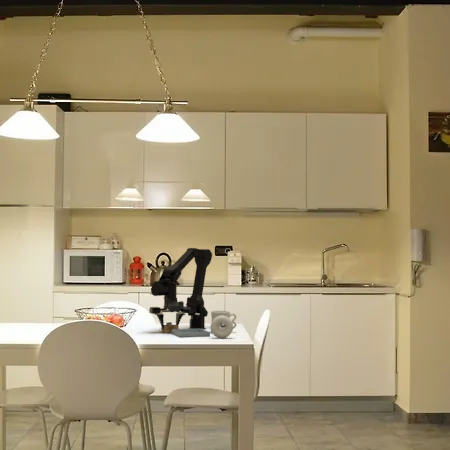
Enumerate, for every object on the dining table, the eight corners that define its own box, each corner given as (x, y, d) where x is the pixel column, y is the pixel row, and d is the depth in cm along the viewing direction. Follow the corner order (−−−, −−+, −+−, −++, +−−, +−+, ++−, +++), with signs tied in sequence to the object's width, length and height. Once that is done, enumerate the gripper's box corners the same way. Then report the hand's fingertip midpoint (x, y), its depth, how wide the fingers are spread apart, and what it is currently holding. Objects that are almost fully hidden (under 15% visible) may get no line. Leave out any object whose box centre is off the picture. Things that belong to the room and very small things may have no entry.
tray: (200, 332, 312) (200, 328, 312) (210, 336, 299) (210, 331, 299) (171, 333, 307) (171, 329, 307) (180, 337, 294) (180, 332, 294)
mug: (212, 334, 308) (213, 312, 308) (208, 331, 317) (209, 310, 317) (238, 333, 311) (239, 312, 311) (234, 331, 320) (234, 310, 320)
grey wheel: (233, 338, 295) (233, 315, 295) (232, 339, 291) (233, 316, 292) (210, 337, 295) (211, 314, 296) (210, 338, 292) (210, 315, 292)
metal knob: (171, 331, 315) (172, 322, 315) (173, 332, 312) (173, 322, 312) (165, 331, 314) (165, 322, 314) (167, 332, 311) (167, 322, 311)
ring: (174, 330, 317) (174, 322, 317) (178, 332, 311) (178, 323, 311) (161, 331, 315) (161, 322, 315) (165, 332, 309) (165, 324, 309)
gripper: (155, 296, 303) (155, 331, 302) (194, 296, 310) (194, 329, 309) (149, 295, 313) (148, 328, 312) (187, 294, 320) (186, 327, 319)
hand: (169, 328), depth 313 cm, fingers closed on ring, 6 cm apart
